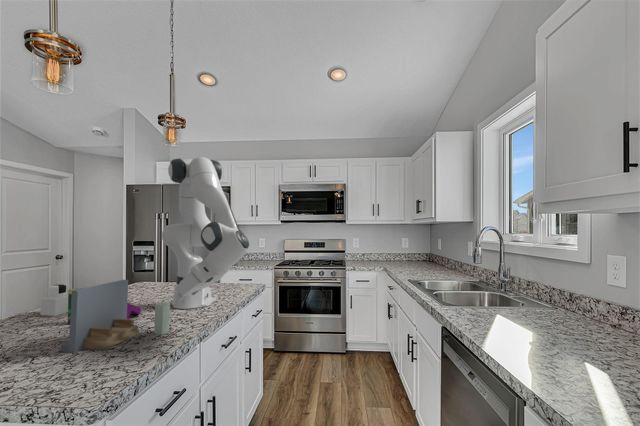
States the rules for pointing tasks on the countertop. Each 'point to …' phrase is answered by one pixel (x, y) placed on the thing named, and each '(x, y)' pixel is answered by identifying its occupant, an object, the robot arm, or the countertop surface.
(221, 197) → the robot arm
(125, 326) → the cleat ledge
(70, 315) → the coffee box
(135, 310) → the mounting bracket
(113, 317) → the wall board
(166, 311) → the cabinet block
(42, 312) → the medicine bottle
